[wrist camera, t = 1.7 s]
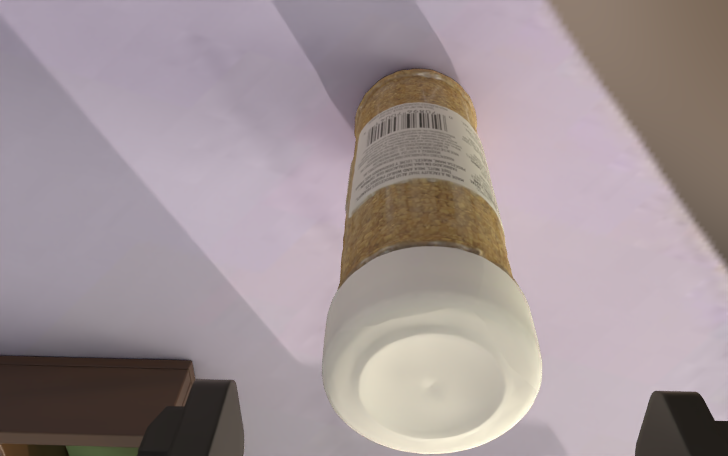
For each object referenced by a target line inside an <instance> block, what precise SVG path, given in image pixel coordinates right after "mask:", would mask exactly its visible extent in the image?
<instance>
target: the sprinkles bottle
mask: <svg viewBox="0 0 728 456" xmlns="http://www.w3.org/2000/svg"><path fill="white" fill-rule="evenodd" d="M476 127H477V119H476V113H475V109H474V107H473V104H472V101H471V99H470V97H469V95H468V94H467V93H466V92H465V91H464V90H463V88H462V87H461V86H460V85H459V84H458V83H456V82H455V81H454V80H453V79H451V78H450V77H448V76H445V75H443V74H441V73H439V72H436V71H433V70H428V69H411V70H401V71H398V72H395V73H393V74H391V75H388V76H386V77H384V78H383V79H381V80H379V81H378V82H377V83H376V84H375V85H374V86H373V87H372V88H371V89H370V90H369V91H368V92H367V93H366V94H365V95H364V98H363V100H362V101H361V103H360V105H359V107H358V109H357V112H356V116H355V131H354V132H355V137H356V142H355V151H354V158H353V161H352V163H351V167H350V174H349V181H348V189H347V197H346V205H345V211H346V219H345V231H344V237H343V251H342V259H341V274H340V284H339V287H338V290H337V292H336V294H335V296H334V298H333V299H332V302H331V305H330V308H329V311H328V315H327V321H326V329H325V337H324V347H323V359H322V379H323V385H324V389H325V392H326V394H327V397H328V399H329V402H330V404H331V405H332V407H333V409H334V410H335V412H336V413H337V414H338V415H339V417H340V418H341V419H342V420H343V421H344V422H345V423H346V424H347V425H348V426H350V427H351V428H352V429H353V430H355V431H356V432H357V433H359V434H360V435H362V436H364V437H366V438H367V439H369V440H371V441H373V442H376V443H378V444H380V445H382V446H386V447H389V448H392V449H396V450H400V451H405V452H413V453H421V454H441V453H451V452H457V451H462V450H466V449H470V448H474V447H477V446H480V445H482V444H485V443H487V442H489V441H491V440H493V439H495V438H497V437H499V436H500V435H502V434H503V433H505V432H506V431H508V430H509V429H511V428H512V427H513V426H514V425H515V424H516V423H518V422H519V420H520V419H521V418H522V417H523V416H524V415H525V414H526V413H527V411H528V410H529V409H530V407H531V406H532V404H533V402H534V400H535V398H536V396H537V394H538V391H539V388H540V384H541V379H542V360H541V354H540V349H539V344H538V340H537V335H536V332H535V328H534V324H533V320H532V316H531V313H530V309H529V306H528V303H527V301H526V299H525V296H524V294H523V292H522V291H521V289H520V288H519V286H518V284H517V283H516V281H515V280H514V279H513V276H512V273H511V268H510V264H509V261H508V258H507V250H506V247H505V235H504V230H503V226H502V222H501V218H500V215H499V211H498V207H497V203H496V199H495V195H494V191H493V187H492V183H491V179H490V175H489V171H488V166H487V163H486V159H485V155H484V151H483V147H482V144H481V141H480V139H479V137H478V135H477V130H476Z"/></svg>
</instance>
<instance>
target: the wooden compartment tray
mask: <svg viewBox="0 0 728 456" xmlns="http://www.w3.org/2000/svg"><path fill="white" fill-rule="evenodd" d="M194 381H195V375H194V370H193V365H192V361H188V360H148V359H108V358H68V357H28V356H0V456H137V454H138V449H139V446H140V444H141V441H142V439H143V436H144V434H145V432H146V429H147V427H148V426H149V425H150V424H151V422H152V421H153V420H154V419H155V418H156V417H157V416H158V415H159V414H160V413H161V412H162V411H163V410H164V408H165V407H166V406H185V404H186V401H187V398H188V395H189V393H190V390H191V387H192V385H193V383H194Z"/></svg>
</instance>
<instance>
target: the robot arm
mask: <svg viewBox="0 0 728 456" xmlns="http://www.w3.org/2000/svg"><path fill="white" fill-rule="evenodd" d="M243 454H244V430H243V424H242V417H241V411H240V405H239V398H238V392H237V386H236V382H235V381H234V380H210V379H196V380H195V381H194V383H193V385H192V387H191V390H190V393H189V395H188V398H187V401H186V404H185V406H166V407H165V408H164V410H163V411H162V412H161V413H160V414H159V415H158V416H157V417H156V418H155V419H154V420H153V421H152V422H151V424H150V425H149V426H148V427H147V429H146V432H145V434H144V436H143V439H142V441H141V444H140V446H139V449H138V454H137V456H243ZM635 456H728V421H715V420H714V418H713V416H712V414H711V413H710V411H709V409H708V407H707V405H706V403H705V401H704V399H703V398H702V396H701V395H700V394H699V393H697V392H681V391H654V392H653V393H652V395H651V397H650V400H649V403H648V406H647V410H646V413H645V416H644V420H643V423H642V426H641V430H640V433H639V436H638V440H637V443H636V449H635Z"/></svg>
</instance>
